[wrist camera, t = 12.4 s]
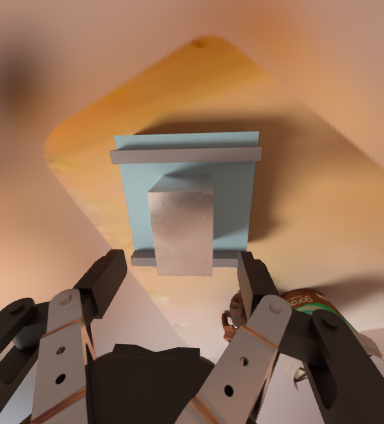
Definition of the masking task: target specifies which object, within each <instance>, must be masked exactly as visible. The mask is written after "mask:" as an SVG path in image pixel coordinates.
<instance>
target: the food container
mask: <svg viewBox="0 0 384 424" xmlns="http://www.w3.org/2000/svg"><path fill="white" fill-rule="evenodd" d="M280 297H281V298H283V299H284V300H285V301H286V302H287V303H288V304H289V305H290V307H291V308H293V309H295V310H298V311H301V312H304V313H308V314H311V315H312V312H313V311H314V310H316V309H325V310H328V311H331V312H333V313H335V314H337V315H338V316H340V317H341V318H342V319H343V320H344V321H345V322H346V323H347V325H348V326H349V328H350V329H351V331H352V332H353V333H354V335H355V336H356V338H357V339H358V341H359V342H360V344H361V345H362V347H363V348H364V350H365V351H366V353H367V354H368V355H369V357H371V356H375V357H377V358H379V359H381V360H382V361H383V362H384V360H383V359H382V358H381V356H382V354H381V352H380V351H379V349H378V347H377V346H376V344H375V343H374V342H373V341H372V340H371V339H370V338H368V337H367V336H364V335H362V334H359V333H358V332H357V331H356V330H355V329H354V328H353V327H352V325H351V324H350V323H349V322H348V321H347V320H346V319H345V318H344V317H343V316H342V315H341V314H340V313H339V311H338V310H337V309H336V308H335V307H334V306H333V305H332V304H331V303H330V302H329V301H328V300H327V298H326V297H325V296H324V295H323V294H321V293H319V292H317V291H315V290H311V289H295V290H292V291H289V292H286V293H284V294H283V295H281V296H280ZM282 364H283V368H284V370H285V372H286V374H287V375H288V377H289V379H290V381H291V383H292V384H293V385H294V386H295V388H296V389H297V390H298V387H297V384H296V382H299V381H302V380H304V379H306V378H308V377H307V375H306V372H305V369H304V366H303V364H302V361H300V360H297V359H295V358H292V357H290V356H287V355H285V354H284V356H283V360H282Z"/></svg>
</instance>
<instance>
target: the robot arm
mask: <svg viewBox="0 0 384 424" xmlns="http://www.w3.org/2000/svg"><path fill="white" fill-rule="evenodd" d="M126 274H127V264H126V260H125V255H124V251H123V250H122V249H111V250H110V251H109V252H108V253H107V255H106V256H103V257H101V258H100V259H98V260H97V261H96V262H95V263H94V264H93V265H92V266H91V268H90V269H89V270H88V271H87V273H85V274H84V275H83V277H82V278H81V279H80V280H79V282H77V284H76V285H75V286H74V287H73V288H72V289H67V290H64V291H62V292H60V293H59V294H57V295H56V296H55V297H53V299H52V300H51V301H49V302H44V303H40V304H35V302H34V300H33V299H32V298H22V299H19V300H17V301H15V302H12V303H11V304H9V305H8V306H6V307H5V308H4V309H2V310H1V311H0V353H1V352H2V351H3V350H4V349H5V348H6V347H7V345H8V344H9V343H10V342H11V341H13V343H14V344H15V345H14V346H13V348H12V349H11V350H10V351H9V352H8V353H7V355H6V356H5V357H4V358H3V359H2V360H1V362H0V413H1V411H2V410H3V408H4V407H5V405H6V404H7V402H8V401H9V400H10V398H11V397H12V395H13V394H14V392H15V391H16V389H17V388H18V387H19V385H20V384H21V382H22V381H23V379H24V378H25V376H26V375H27V374H28V372H29V371H30V369H31V368H32V366H33V365H34V364H35V362H36V361H37V359H38V364H37V373H36V382H35V390H34V399H33V408H32V413H31V414H30V415H29V416H28V417H27V418H26V419H24V420H23V421H22V422H21V423H20V424H257V423H256V420H257V417H258V415H259V412H260V410H261V407H262V404H263V401H264V398H265V395H266V392H267V389H268V386H269V383H270V380H271V378H272V375H273V373H274V370H275V367H276V365H277V362H278V360H279V357H280V354H281V353H282V354H285V355H287V356H290V357H292V358H295V359H297V360H300V361H302V364H303V366H304V369H305V372H306V375H307V377H308V380H309V383H310V385H311V388H312V391H313V393H314V396H315V399H316V402H317V404H318V407H319V410H320V412H321V415H322V418H323V420H324V423H325V424H384V377H383V376H382V375H381V373H380V372H379V370H378V369H377V367H376V366H375V364H374V363H373V361H372V360H371V358H370V357H369V355H368V354H367V353H366V351H365V350H364V348H363V347H362V345H361V344H360V342H359V341H358V339H357V338H356V336H355V335H354V333H353V332H352V331H351V329H350V328H349V326H348V325H347V323H346V322H345V321H344V320H343V319H342V318H341V317H340V316H338V315H337V314H335V313H333V312H331V311H328V310H325V309H316V310H314V311H313V312H312V315H311V314H308V313H304V312H301V311H298V310H295V309H293V308H291V307H290V305H289V304H288V303H287V302H286V301H285V300H284V299H283V298H281V297H280V296H279V293H278V291H277V289H276V287H275V285H274V283H273V280H272V278H271V277H270V274H269V272H268V270H267V267H266V265H265V264H264V263H263V262H262V261H261V260H260V259H254V258H253V255H252V253H251V252H244V251H239V257H238V268H237V276H238V282H239V286H240V291H241V295H242V299H243V304H244V308H245V313H246V317H247V324H246V325H241V326H240V328H239V329H238V331H237V332H236V334H235V335H234V337H233V339H232V340H231V342H230V343H229V345H228V346H227V348H226V350H225V351H224V353H223V354H222V356H221V357H220V359H219V361H218V362H217V364H216V365H215V364H214V363H213V362H211V361H210V360H208V359H206V358H204V357H202V356H200V348H185V347H177V348H173V349H168V350H164V351H159V352H153V351H151V350H148V349H145V348H143V347H140V346H138V345H130V344H129V345H128V344H115V346H114V349H113V352H109V353H107V354H104V355H102V356H100V357H98V358H97V355H96V349H95V343H94V336H93V330H92V325H91V322H92V320H93V319H102V317H103V316H104V314H105V312H106V310H107V308H108V307H109V305H110V303H111V301H112V299H113V298H114V296H115V294H116V292H117V291H118V289H119V287H120V285H121V284H122V282H123V280H124V278H125V276H126Z"/></svg>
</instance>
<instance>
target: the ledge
mask: <svg viewBox="0 0 384 424" xmlns="http://www.w3.org/2000/svg"><path fill="white" fill-rule="evenodd" d="M114 138H115V144H116V149H117V150H112V151H110V156H111V161H112V164H119V166H120V171H121V177H122V182H123V188H124V193H125V199H126V204H127V210H128V215H129V221H130V226H131V232H132V237H133V243H134V248H135V251H134V253H133V255H132V256H131V262H132V266H157V264H156V256H155V249H154V241H153V234H152V226H151V219H150V211H149V203H148V196H147V192H148V191H149V190H150V189H151V188H152V187H153V186H154V185H155V184H156V183H157V181H158V180H159V179H160V178H161V177H162V176H171V175H211V180H212V185H213V190H214V210H213V264H212V267H238V257H239V251H244V252H246V250H247V240H248V231H249V222H250V213H251V203H252V194H253V185H254V175H255V166H256V161H261V154H262V147H260V146H258V138H259V131H253V132H220V133H188V134H156V135H123V136H114Z"/></svg>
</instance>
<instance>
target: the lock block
mask: <svg viewBox="0 0 384 424" xmlns="http://www.w3.org/2000/svg"><path fill="white" fill-rule="evenodd" d="M147 196H148V203H149V211H150V219H151V226H152V234H153V241H154V249H155V256H156V264H157V272H158V276H212V264H213V210H214V190H213V185H212V180H211V175H171V176H162V177H161V178H160V179H159V180H158V181H157V183H156V184H155V185H154V186H153V187H152V188H151V189H150V190H149V191H148V192H147Z"/></svg>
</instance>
